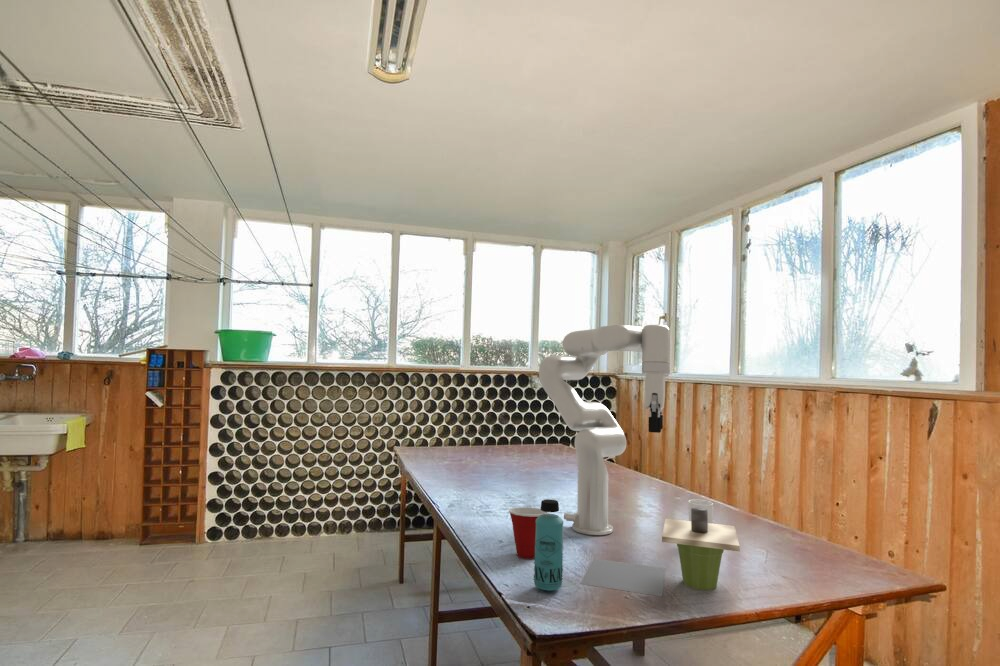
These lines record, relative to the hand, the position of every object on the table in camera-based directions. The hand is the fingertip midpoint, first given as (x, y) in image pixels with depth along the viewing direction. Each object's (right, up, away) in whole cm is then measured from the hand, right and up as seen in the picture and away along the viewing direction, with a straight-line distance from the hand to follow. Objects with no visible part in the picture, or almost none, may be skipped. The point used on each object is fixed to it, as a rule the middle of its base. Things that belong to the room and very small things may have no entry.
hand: (655, 430), depth 147 cm
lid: (+3, -21, -23) cm, 31 cm away
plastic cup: (-36, -33, -6) cm, 49 cm away
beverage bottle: (-33, -31, -29) cm, 53 cm away
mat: (-13, -32, -20) cm, 40 cm away
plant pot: (+3, -32, -24) cm, 40 cm away
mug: (+16, -35, +8) cm, 39 cm away
